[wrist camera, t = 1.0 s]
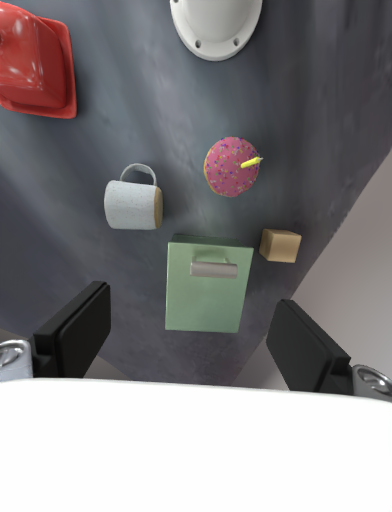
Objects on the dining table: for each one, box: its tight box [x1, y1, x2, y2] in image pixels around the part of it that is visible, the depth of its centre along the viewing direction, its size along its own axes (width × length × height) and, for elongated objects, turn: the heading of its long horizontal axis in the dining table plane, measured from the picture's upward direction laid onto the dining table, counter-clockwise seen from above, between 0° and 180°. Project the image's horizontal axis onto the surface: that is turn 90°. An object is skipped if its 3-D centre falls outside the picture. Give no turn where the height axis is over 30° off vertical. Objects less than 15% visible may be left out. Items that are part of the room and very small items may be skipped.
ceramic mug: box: [104, 164, 163, 230], centre depth 30 cm, size 11×8×8 cm
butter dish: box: [0, 2, 77, 119], centre depth 24 cm, size 12×12×8 cm
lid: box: [165, 241, 254, 333], centre depth 28 cm, size 16×13×6 cm
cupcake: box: [204, 136, 263, 197], centre depth 27 cm, size 9×8×12 cm
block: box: [259, 229, 302, 262], centre depth 35 cm, size 5×5×5 cm
